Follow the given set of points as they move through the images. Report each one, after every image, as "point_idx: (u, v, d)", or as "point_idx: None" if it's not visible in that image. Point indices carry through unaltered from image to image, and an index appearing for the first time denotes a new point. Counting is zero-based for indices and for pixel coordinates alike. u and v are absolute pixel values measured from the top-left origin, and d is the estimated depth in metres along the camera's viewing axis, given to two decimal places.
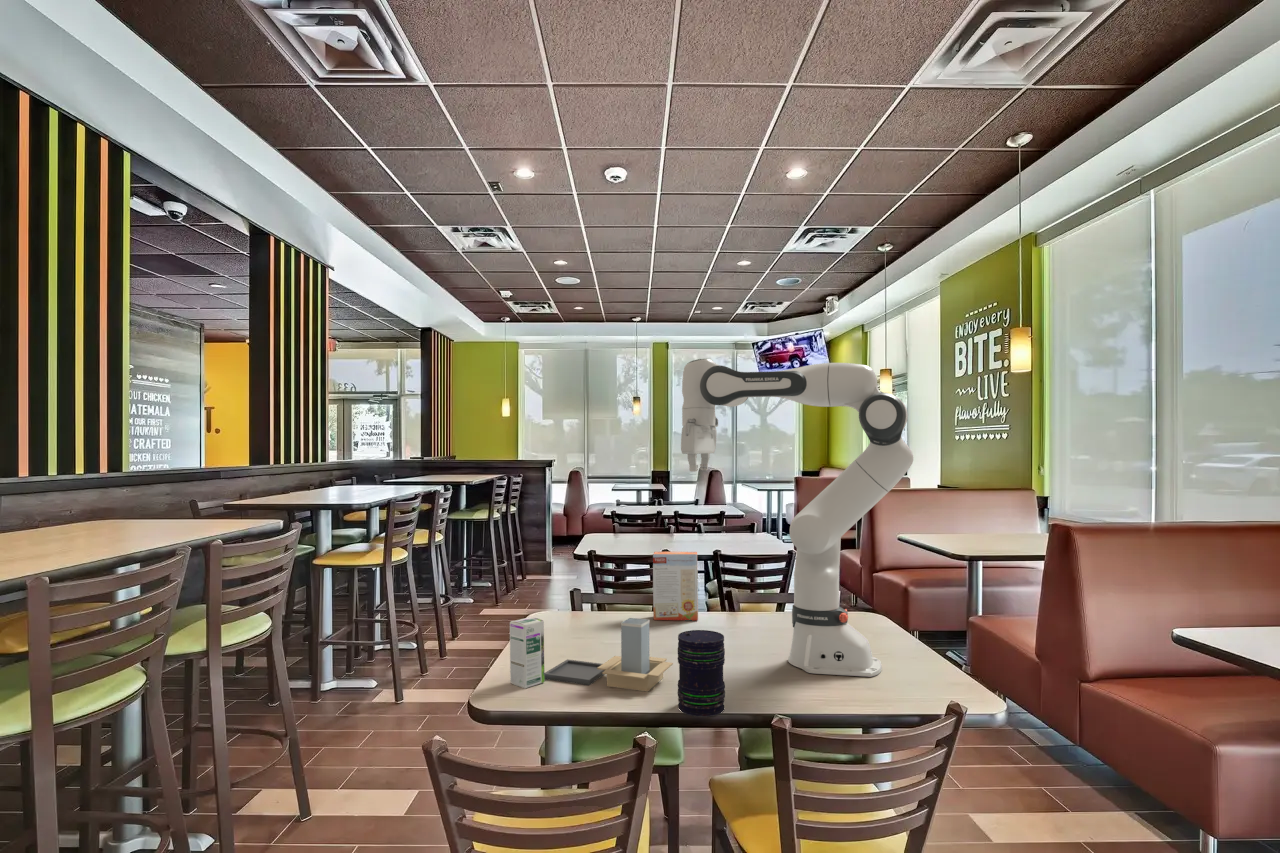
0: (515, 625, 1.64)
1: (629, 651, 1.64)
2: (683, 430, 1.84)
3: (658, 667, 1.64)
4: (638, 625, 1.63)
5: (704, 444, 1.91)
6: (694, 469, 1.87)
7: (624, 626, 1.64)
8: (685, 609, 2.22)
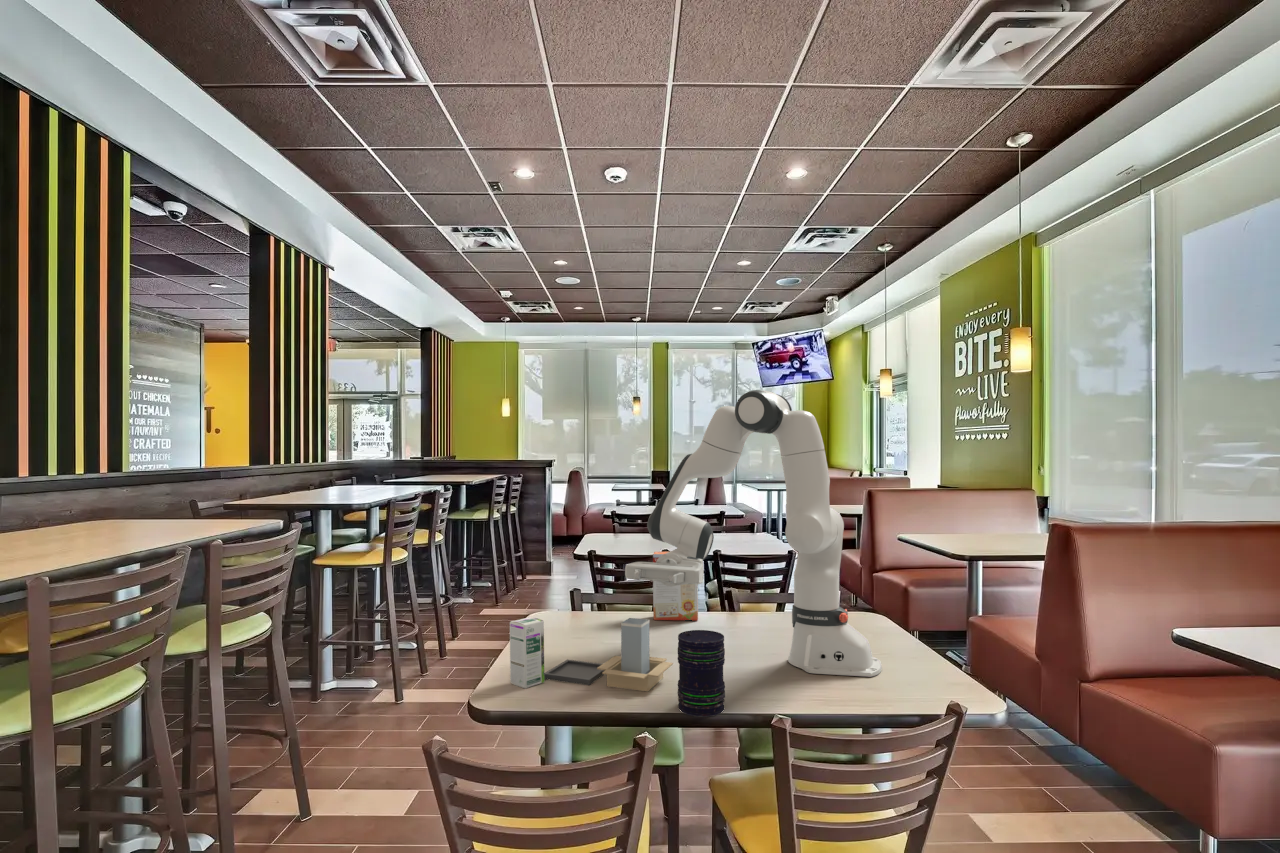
0: (515, 625, 1.64)
1: (629, 651, 1.64)
2: None
3: (658, 667, 1.64)
4: (638, 625, 1.63)
5: (660, 565, 1.84)
6: None
7: (624, 626, 1.64)
8: (685, 609, 2.22)
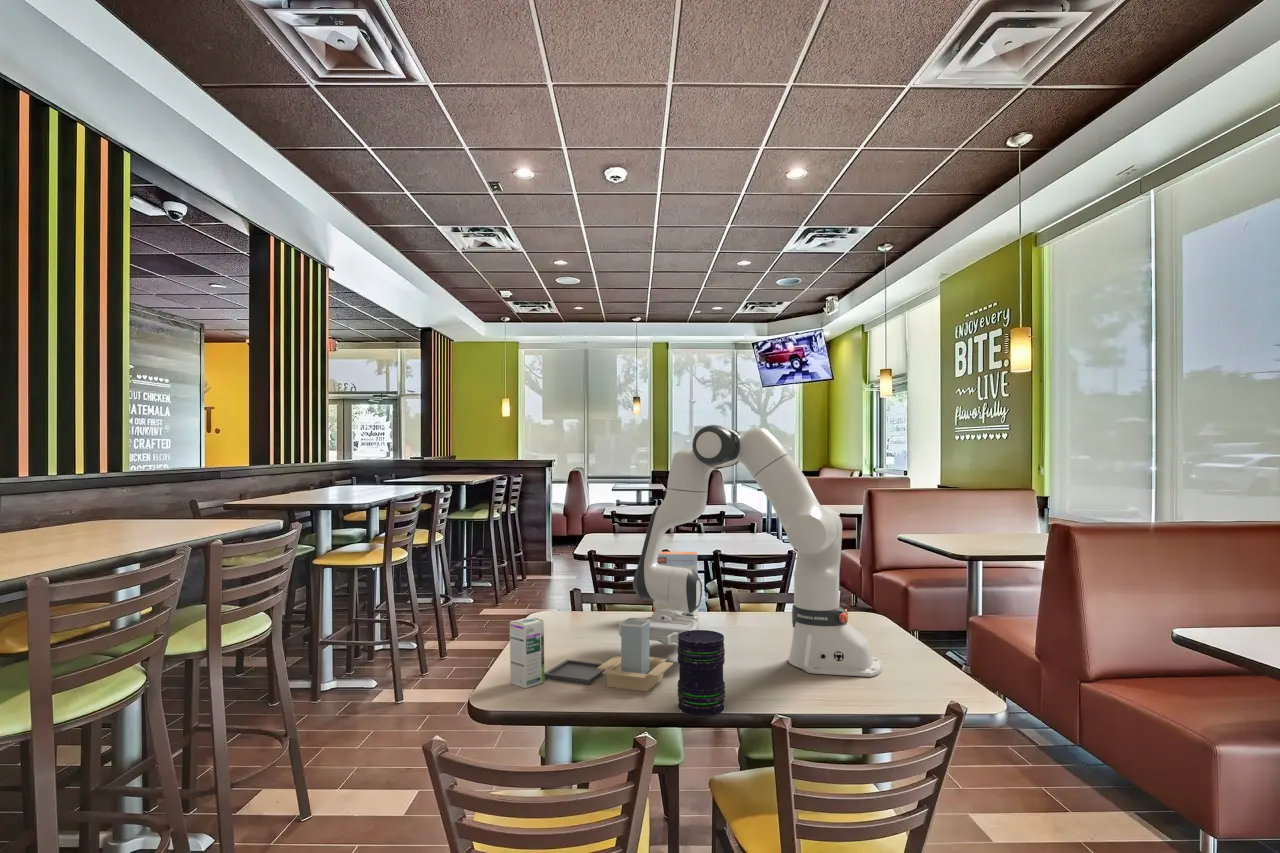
0: (515, 625, 1.64)
1: (629, 651, 1.64)
2: None
3: (658, 667, 1.64)
4: (638, 625, 1.63)
5: (655, 623, 1.80)
6: None
7: (624, 626, 1.64)
8: None
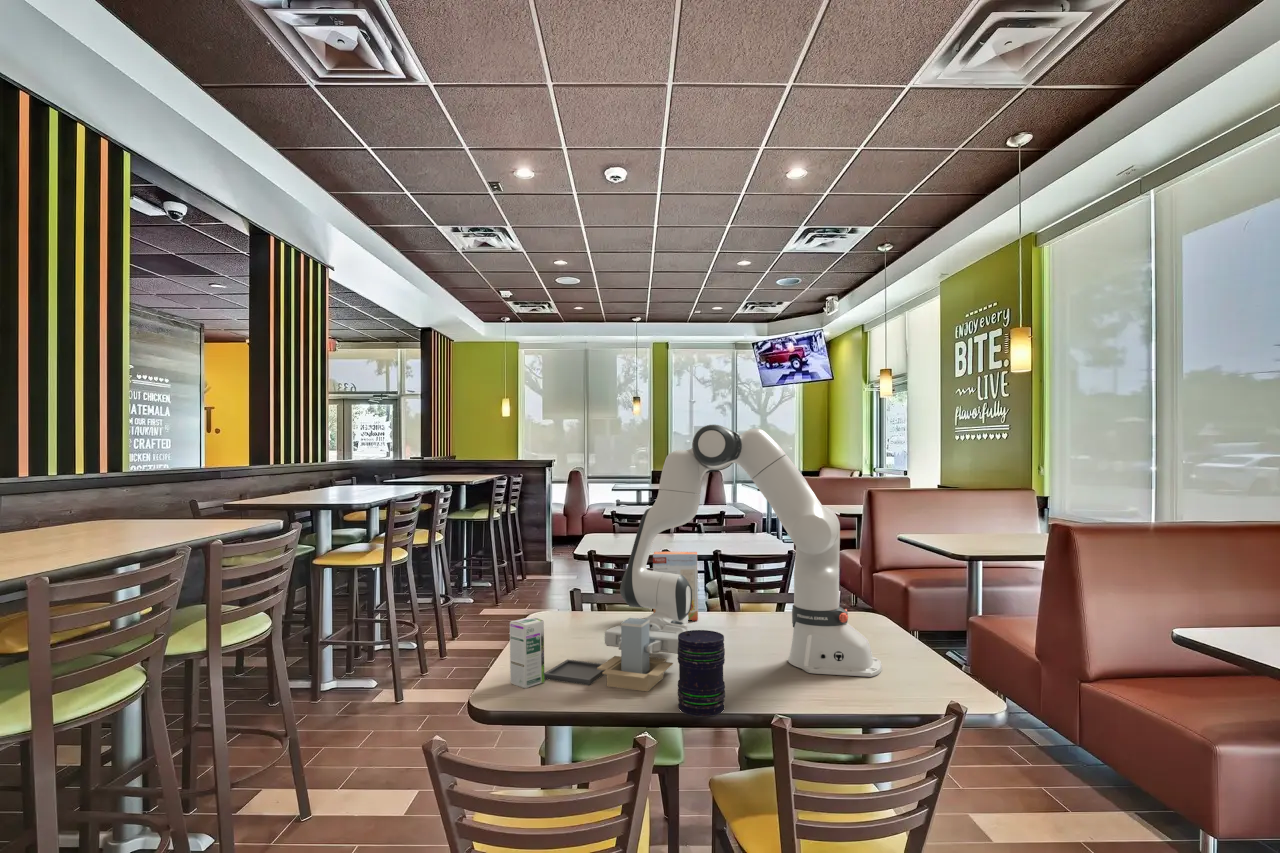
0: (515, 625, 1.64)
1: (629, 651, 1.64)
2: None
3: (658, 667, 1.64)
4: (638, 625, 1.63)
5: None
6: None
7: (624, 626, 1.64)
8: None
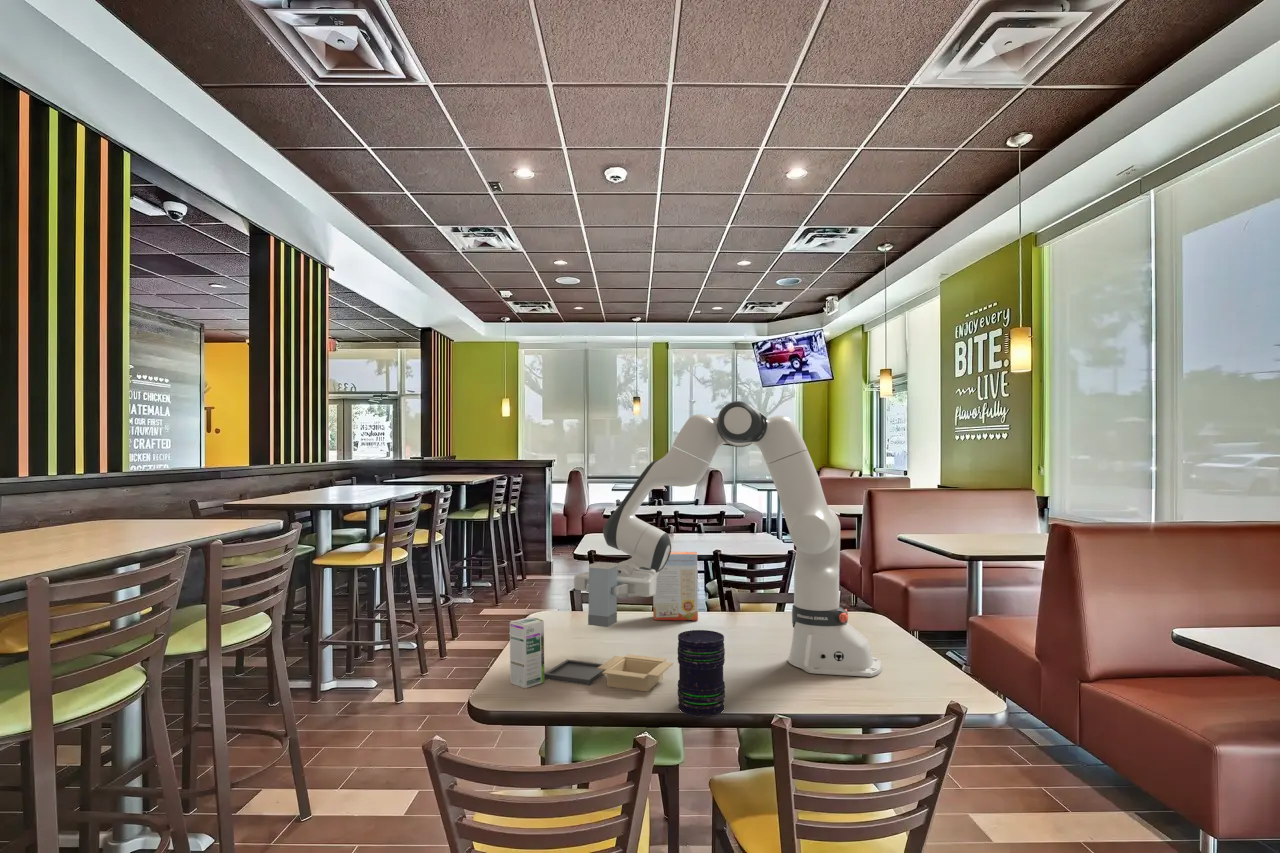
0: (515, 625, 1.64)
1: (596, 592, 1.67)
2: None
3: (658, 667, 1.64)
4: (605, 567, 1.66)
5: None
6: None
7: (592, 568, 1.67)
8: (685, 609, 2.22)
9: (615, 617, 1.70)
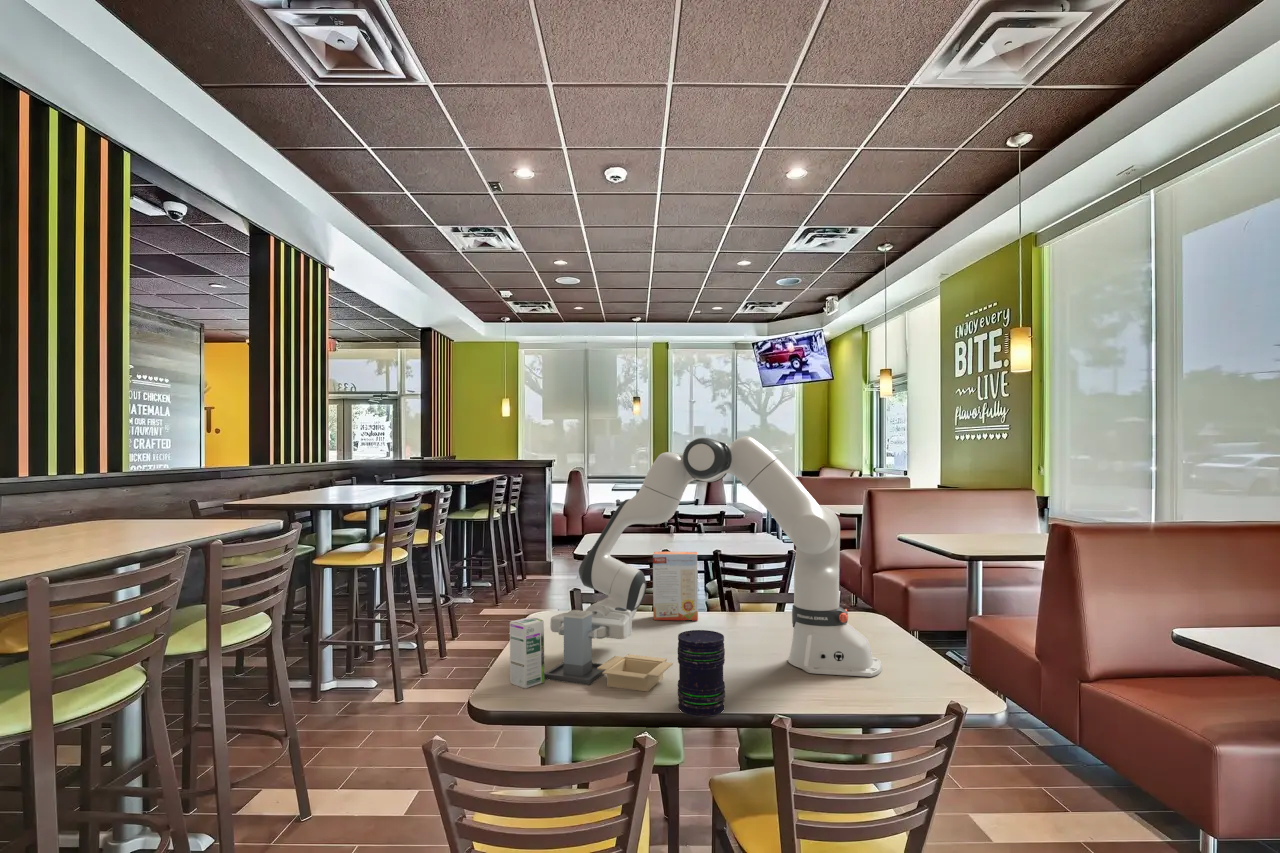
0: (515, 625, 1.64)
1: (571, 641, 1.69)
2: None
3: (658, 667, 1.64)
4: (579, 616, 1.69)
5: None
6: None
7: (566, 617, 1.70)
8: (685, 609, 2.22)
9: (590, 665, 1.72)
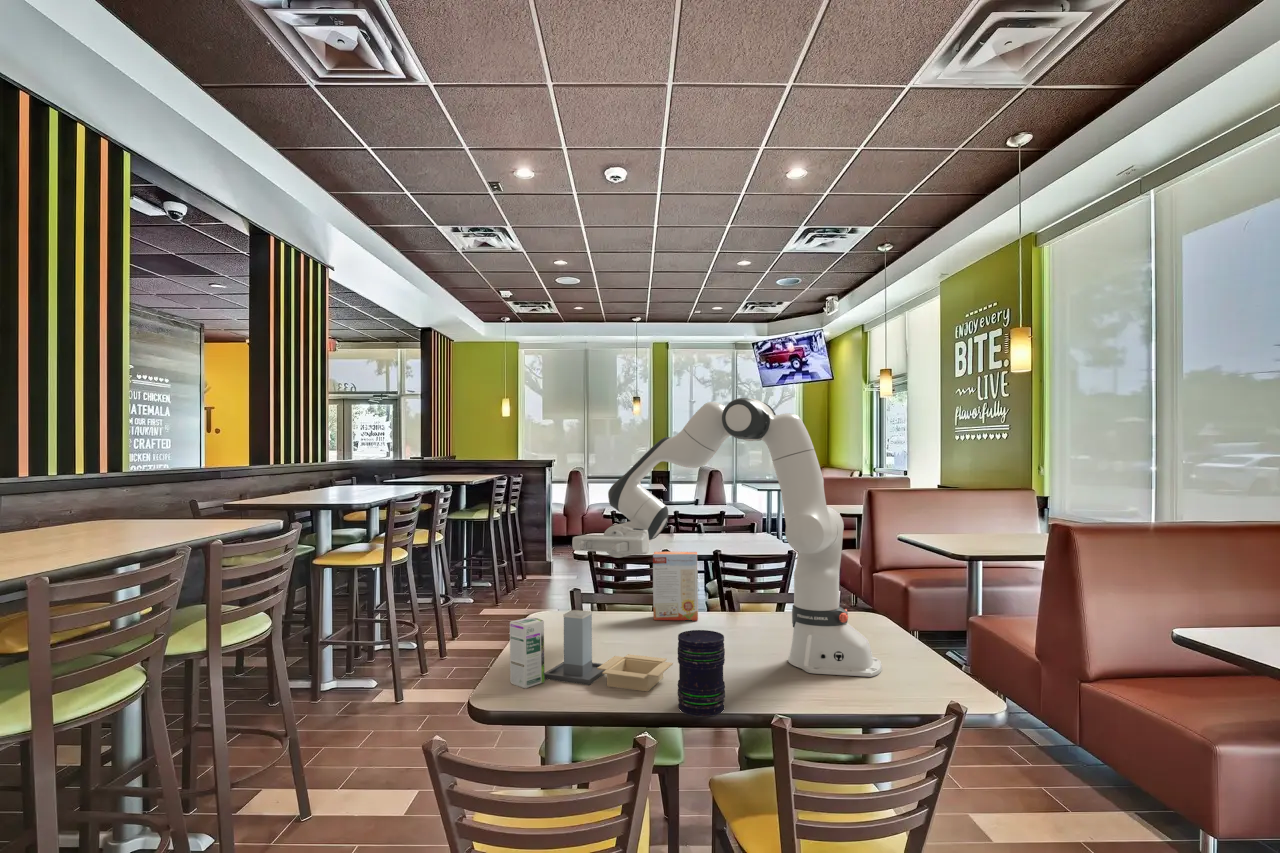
0: (515, 625, 1.64)
1: (571, 641, 1.69)
2: None
3: (658, 667, 1.64)
4: (579, 616, 1.69)
5: (606, 537, 1.89)
6: None
7: (566, 617, 1.70)
8: (685, 609, 2.22)
9: (590, 665, 1.72)
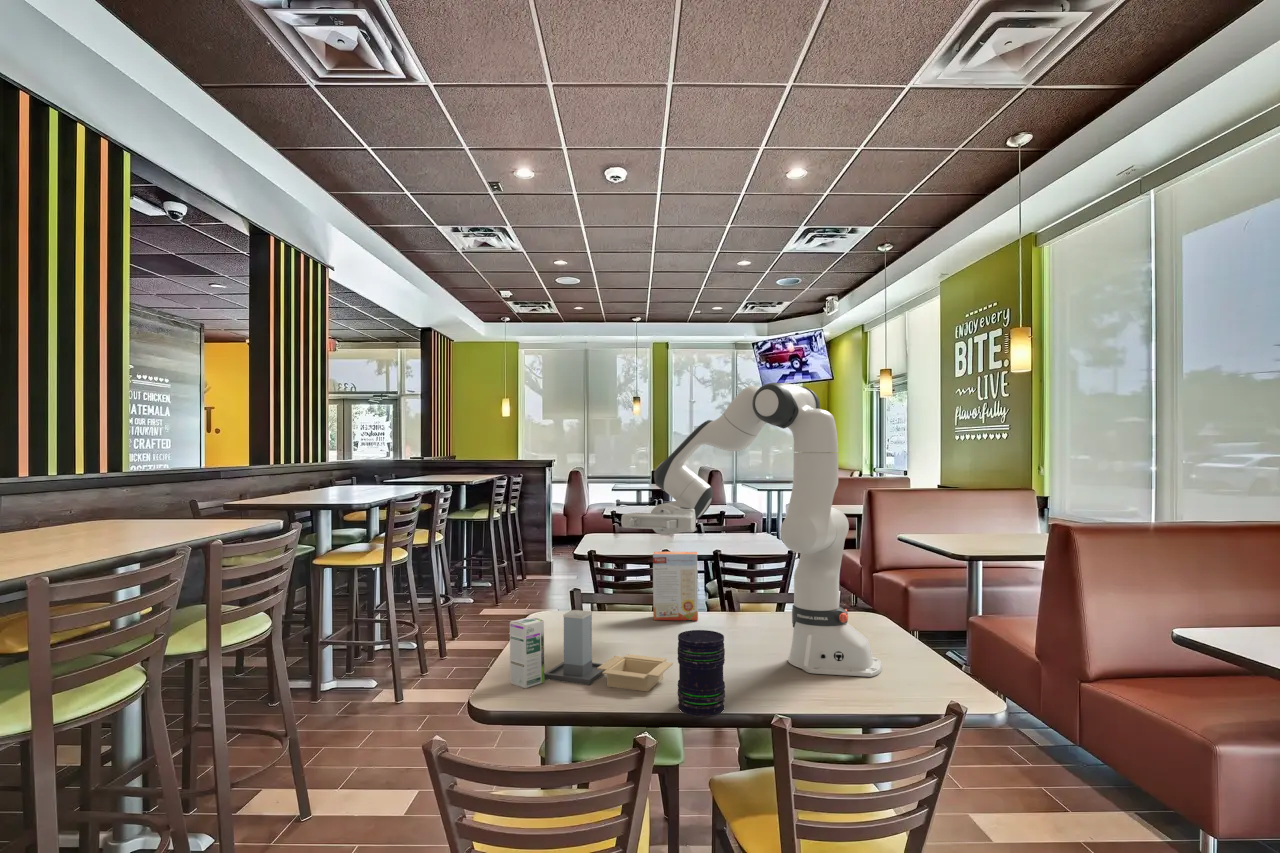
0: (515, 625, 1.64)
1: (571, 641, 1.69)
2: None
3: (658, 667, 1.64)
4: (579, 616, 1.69)
5: None
6: None
7: (566, 617, 1.70)
8: (685, 609, 2.22)
9: (590, 665, 1.72)
